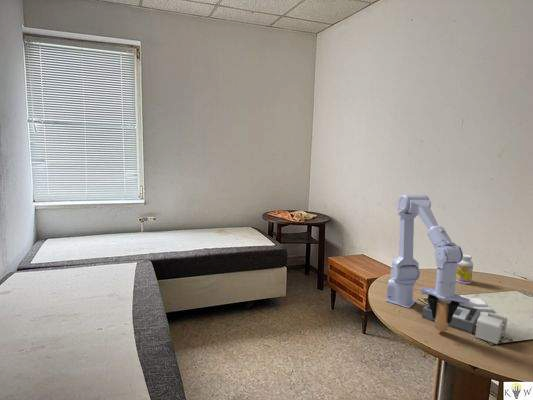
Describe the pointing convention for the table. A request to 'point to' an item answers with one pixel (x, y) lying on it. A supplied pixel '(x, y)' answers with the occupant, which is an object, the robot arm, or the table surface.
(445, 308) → the brown cylindrical peg
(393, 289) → the robot arm
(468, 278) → the supplement bottle
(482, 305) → the light switch
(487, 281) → the table surface
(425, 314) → the walled box
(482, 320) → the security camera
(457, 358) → the table surface
